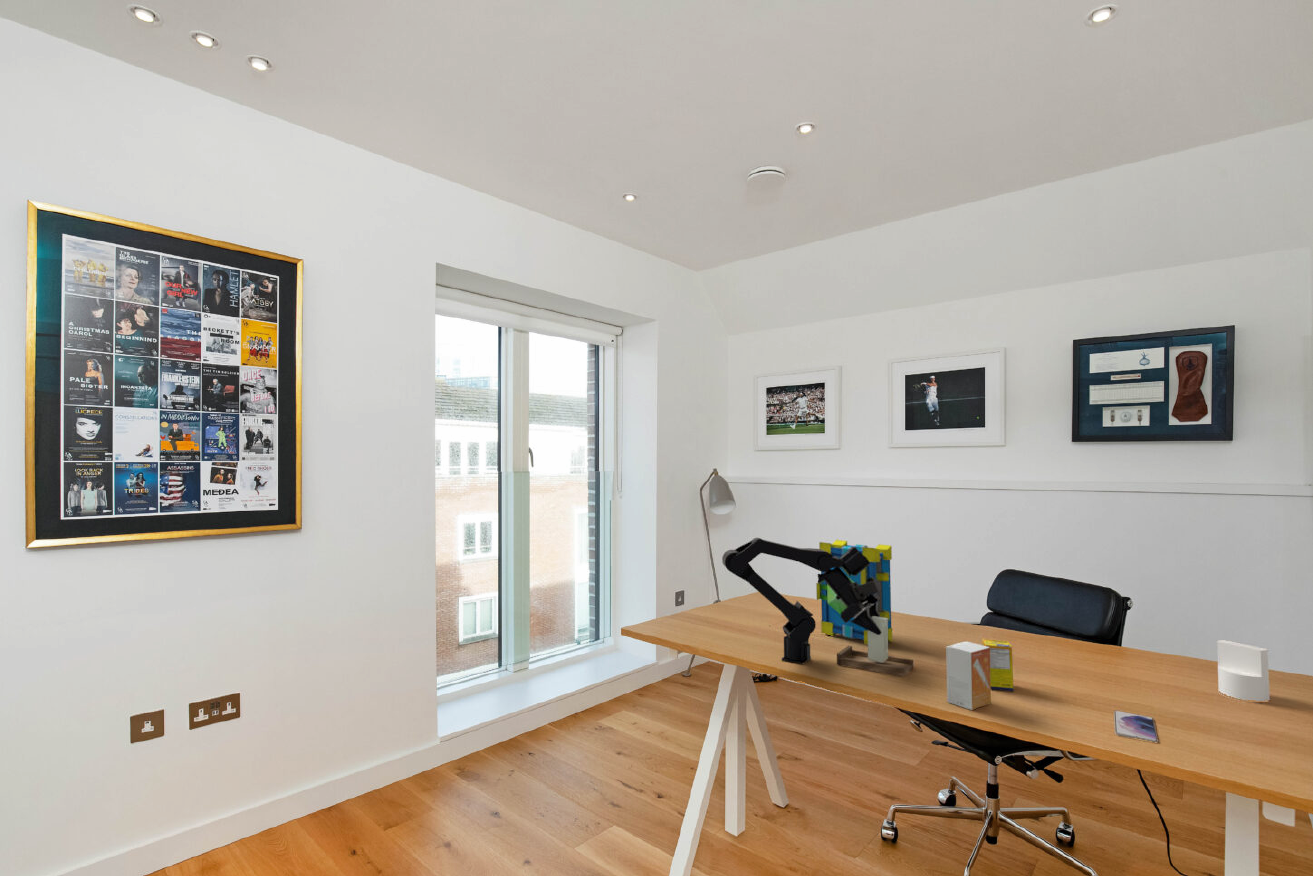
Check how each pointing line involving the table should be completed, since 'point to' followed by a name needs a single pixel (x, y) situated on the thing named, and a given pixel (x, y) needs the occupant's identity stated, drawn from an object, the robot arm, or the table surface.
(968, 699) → the small box
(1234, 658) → the base with upright slab
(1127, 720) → the smartphone
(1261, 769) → the table surface
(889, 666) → the wooden tray
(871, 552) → the blue toy crate
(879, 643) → the pale green recessed block
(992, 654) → the supplement box
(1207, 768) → the table surface
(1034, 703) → the table surface
